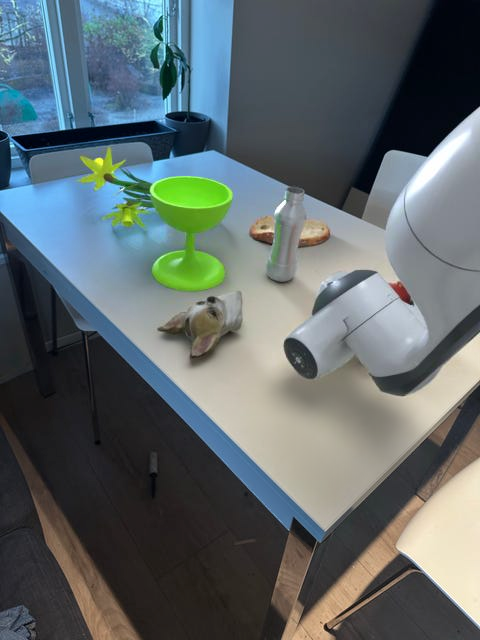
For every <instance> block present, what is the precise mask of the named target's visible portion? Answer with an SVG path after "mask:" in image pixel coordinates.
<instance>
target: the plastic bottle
mask: <svg viewBox="0 0 480 640" xmlns="http://www.w3.org/2000/svg"><path fill="white" fill-rule="evenodd" d="M304 196H305V190H304V189H303V188H301V187H298V186H288V187H286V188H285V193H284V195H283V199H284V201H282V202H281V203H280V204H279V206H277V207H276V209H275V212H274V239H273V244H271V245H272V246H271V250H270V254H269V257H268V259H267V262H266V274H267V275H268V277H269V279H272V280H274V281H276V282H288V281H290V280H292V278H294V277H295V275H296V272H297V269H298V267H297V266H298V260H297V258H298V249H299V247H298V244H299V240H300V235H301V233H302V230H303V227H304V224H305V221H306V219H307V212H306V210H305V206H304V205H303V202H304V199H305V197H304Z"/></svg>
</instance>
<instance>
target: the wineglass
mask: <svg viewBox="0 0 480 640" xmlns="http://www.w3.org/2000/svg"><path fill="white" fill-rule="evenodd" d="M149 196H151V201H150V202H152V203H153V205H154V208H153V209H154V210H155V213H156V214H157V215H158V217H159V218H160V219H161V220H162V221H163V222H164V223H165V224H166V225H167V226H169V227H171V228H172V229H174V230H177V232H181V233H185V242H184V243H185V244H184V245H185V246H184V248H185V249H181V250H175V251H170V252H167V253H165V254H163V255H161V256H159V257H158V258H157V259H156V260H155V261H154V263H153V265H152V267H151V274H152V277H153V279H155V280H156V281H157V282H158V283H159V284H161V285H162V286H164V287H166V288H169V289H172V290H176V291H180V292H181V291H182V292H201V291H207V290H210V289H213V288H215V287H216V286H218V285H221V283H222V282H223V281H224V280H225V278H226V269H225V266H224V264H223V263H222V262H221V261H220V260H219V259H218V258H217V257H215V256H213V255H211V254H209V253H206V252H203V251H200V250H195V247H196V246H195V243H196V234H199V233H200V234H201V233H204V232H206V231H209V230H211V229H213V228H215V227H217V225H218V224H220V223H221V222H222V221H223V220H224V219H225V217H226V216H227V214H228V213H229V210H230V208H231V205H232V201H233V198H234V194H233V191H232V189H230V187H229V186H227V185H225V184H224V183H223V182H219V181H217V180H215V179H210V178H207V177H201V176H194V175H177V176H175V175H174V176H169V177H165V178H161V179H159V180H157V181H154V182H152V186H151V187H150V194H149Z"/></svg>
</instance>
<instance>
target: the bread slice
mask: <svg viewBox="0 0 480 640" xmlns="http://www.w3.org/2000/svg"><path fill="white" fill-rule="evenodd" d="M248 235H249V236H250V237H251V238H252V239H253V240H255V241H261V242H265V243H267V244H270V245H273V239H274V216H273V215H266V216H263V217H260V218H258V219H257V220H256V221H255V222H253V223H252V225H251V226H250V229H249V232H248ZM330 237H331V230H330V227H328V225H327V224H326V223H325V222H323V221H321V220H316V219H310V218H306V221H305V224H304V227H303V230H302V233H301V235H300V240H299V244H298V248H300V247H312V246H316V245H320V244H322V243H325V242H327V240H329V239H330Z"/></svg>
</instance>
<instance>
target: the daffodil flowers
mask: <svg viewBox="0 0 480 640" xmlns="http://www.w3.org/2000/svg"><path fill="white" fill-rule="evenodd" d="M79 158H80V160H81V161H82V163H83V164H84V165H85V166H86V168H88V169H89V170H91V171H92V172H93V173H92V174H89V175H86V176H83V177H82V178H80V179H77V180H76V181H75V182H76V183H81V184H91V183H94V182H95V183H94V188H93V192H96V191H98V190H100V189H102V188H103V187H104V186H105V184H106V183H110V184H111V185H112V184H113V185H115V186H119V189H120V190H118V191H117V192H116V193H114V194H113V195H112V196H111V198H113V197H115V196H117V195H118V194H120V193H121V192H123V193H124V194H125V195H127V196H129V197H131V198H129V197H122V199H123V200H124V201H126V202H123V203H116V204H115V206H113V207H112V208H111V210H117V209H118V211H114V212H111V213H107V214H106V215H105V216H103V217H102V218H101V219H100V221H104V220H107V219H108V220H109V219H113V220H112V223H111V227H112V228H113V227H115V226H116V225H119V224H120V223H121V225H122V226H123V227H126V228H132V227H134V226H135V224H134V223H136V224H137V225H139V226H140V227H141V228H142V229H143V230H147V227H146V226H145V223H144V222H143V220H142V219H141V218H140V217H139V215H140V214H141V215H143V214H152V215H156V214H157V212H152V211H149V210H148V209H155V208H154V205H153V203H152V201H151V195H150V187H151V186H152V184H153V182H149V181H146V180H144V179H140V178H139V177H136V176H135V175H134V174H133V173H131V171H130V170H128V169H127V168H126V167H124V169H125V170H124V169H123V168H122V167H121V166H122V165H123V164H124V163H125V162H126V161H127V158H124V159H123V160H122V161H120V162H117V163H115V164H113V153H112V148H111V146H110V145H109V146H108V147H107V149H106V154H105V156H104V158H102V157H98V158H97V157H96V158H95V159H91V158H88V157H86V156H83V155H81V154H80V155H79ZM118 169H119V170H120V172H122V173H123V175H125V176H126V177H128V178H129V179H130V180H132V181H128V180H121V179H118V177H117V176H116V175H115V173H114V172H115V171H117V170H118ZM139 207H141V208H139Z"/></svg>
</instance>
